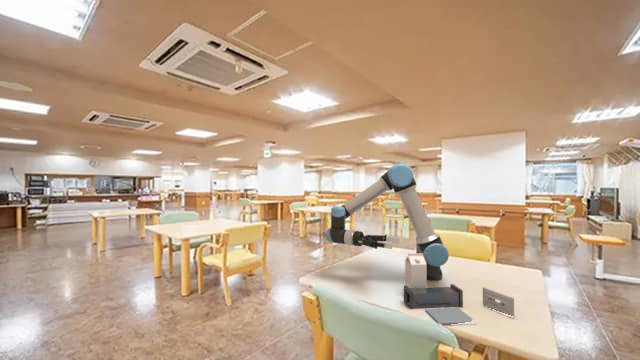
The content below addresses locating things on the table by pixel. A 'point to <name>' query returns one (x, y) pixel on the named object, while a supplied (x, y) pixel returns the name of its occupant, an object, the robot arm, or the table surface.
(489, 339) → the table surface
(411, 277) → the milk carton
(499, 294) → the cassette
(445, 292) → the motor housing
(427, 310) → the slate mat
